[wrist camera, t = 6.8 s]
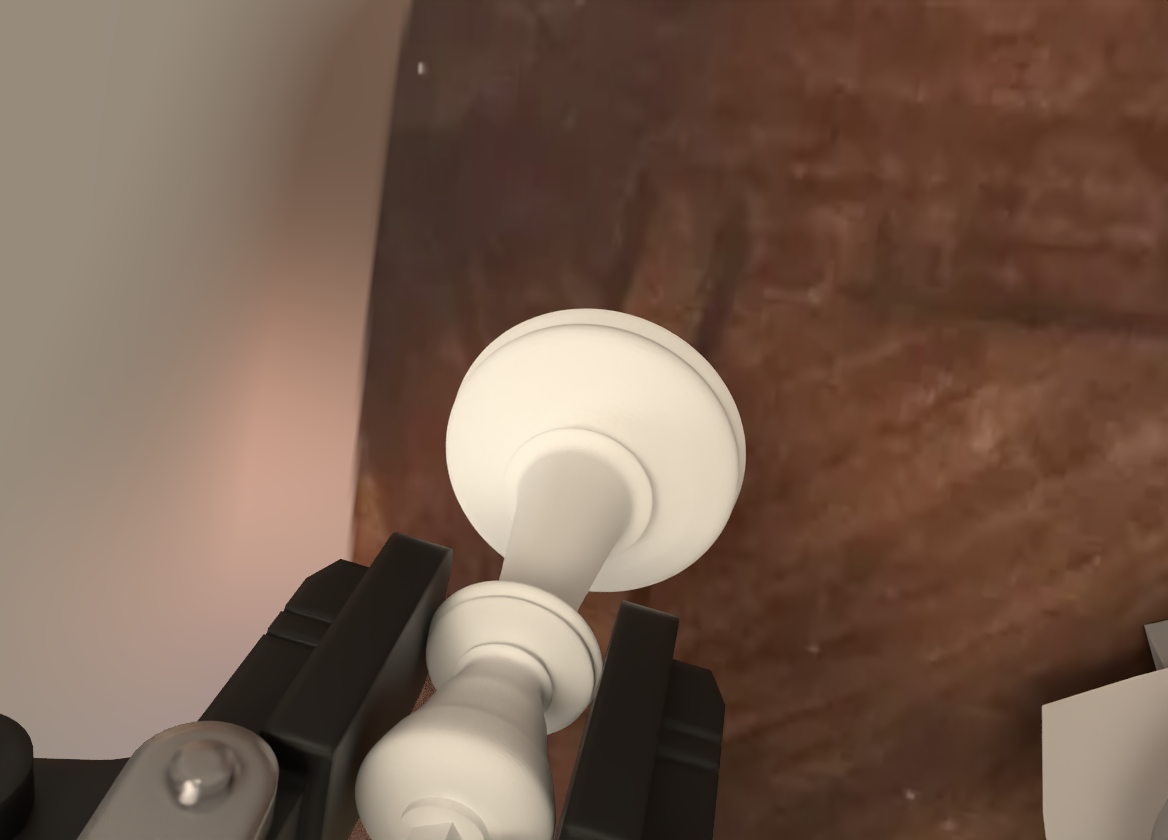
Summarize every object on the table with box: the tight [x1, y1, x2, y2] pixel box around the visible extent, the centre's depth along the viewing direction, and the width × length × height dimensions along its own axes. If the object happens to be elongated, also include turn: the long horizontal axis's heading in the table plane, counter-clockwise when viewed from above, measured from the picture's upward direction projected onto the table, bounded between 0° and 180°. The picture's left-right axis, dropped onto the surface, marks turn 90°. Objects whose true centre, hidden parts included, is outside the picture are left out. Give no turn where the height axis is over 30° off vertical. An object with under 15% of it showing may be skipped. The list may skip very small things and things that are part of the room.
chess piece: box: [355, 309, 746, 840], centre depth 13 cm, size 5×5×10 cm
